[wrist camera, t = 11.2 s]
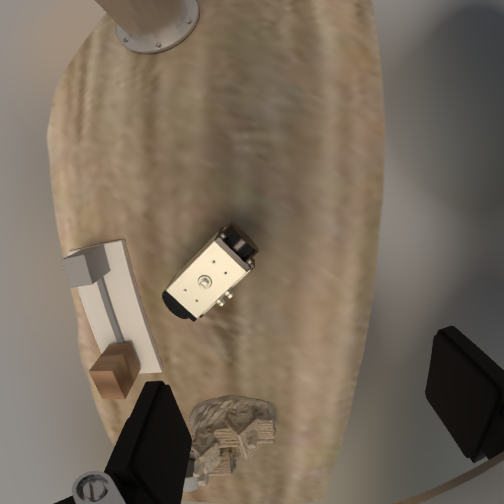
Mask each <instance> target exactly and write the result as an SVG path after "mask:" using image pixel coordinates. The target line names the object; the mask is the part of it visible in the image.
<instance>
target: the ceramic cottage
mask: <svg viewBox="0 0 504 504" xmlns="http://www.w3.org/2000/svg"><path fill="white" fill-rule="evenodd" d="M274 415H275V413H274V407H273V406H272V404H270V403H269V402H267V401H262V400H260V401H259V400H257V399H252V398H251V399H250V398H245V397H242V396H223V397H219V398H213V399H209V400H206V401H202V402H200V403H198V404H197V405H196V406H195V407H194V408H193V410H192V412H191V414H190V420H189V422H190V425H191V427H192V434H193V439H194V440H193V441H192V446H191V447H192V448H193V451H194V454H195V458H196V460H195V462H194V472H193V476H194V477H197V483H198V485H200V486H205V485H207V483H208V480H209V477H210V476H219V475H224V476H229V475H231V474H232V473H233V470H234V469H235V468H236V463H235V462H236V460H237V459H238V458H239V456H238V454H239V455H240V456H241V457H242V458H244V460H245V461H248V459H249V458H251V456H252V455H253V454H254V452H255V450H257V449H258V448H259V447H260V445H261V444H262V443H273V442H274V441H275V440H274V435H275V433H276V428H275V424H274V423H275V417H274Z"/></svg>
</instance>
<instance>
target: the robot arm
mask: <svg viewBox="0 0 504 504" xmlns="http://www.w3.org/2000/svg"><path fill="white" fill-rule="evenodd" d="M95 1H96V2H97V3H98V4H99V5H100V6H101V7H102V8H103V9H104V10H105V11H106V12H107V13H108V14H109V15H110V16H111V17H112V18H113V19H114V20H115V21H116V22H117V26H116V32H117V36H118V39H119V41H120V42H121V43H122V44H123V45H124V46H125V47H126V48H127V49H129V50H131V51H133V52H136V53H140V54H153V53H158V52H162V51H165V50H167V49H170V48H172V47H174V46H175V45H177V44H179V43H180V42H181V41H183V40H184V39H185V38H186V37H187V36H188V35H189V34H190V33H191V32H192V30H193V29H194V27H195V25H196V23H197V21H198V17H199V7H198V3H197V1H196V0H95ZM190 23H191V24H190ZM160 46H161V47H160ZM425 394H426V398H427V400H428V402H429V403H430V405H431V406H432V407H433V409H434V410H435V412H436V413H437V415H438V416H439V418H440V419H441V421H442V422H443V424H444V425H445V427H446V428H447V430H448V431H449V432H450V434H451V435H452V437H453V439H454V440H455V441H456V443H457V444H458V446H459V448H460V449H461V451H462V452H463V454H464V455H465V457H466V458H470V459H471V460H472V462H473V463H475V462H477V461H479V460H481V459H483V458H484V457H485V456H486V457H487V458H488V459H489V460H488V461H487V462H485V463H483V464H481V465H480V466H477V467H475V468H474V469H472V470H470V471H468V472H466V473H464V474H462V475H460V476H458V477H456V478H454V479H452V480H450V481H448V482H446V483H443V484H441V485H439V486H437V487H434V488H432V489H430V490H427V491H425V492H422V493H420V494H417V495H415V496H412V497H410V498H407V499H404V500H401V501H398V502H396V503H393V504H504V370H503V369H502V368H500V367H499V366H498V365H497V364H496V363H495V362H494V361H493V360H491V358H490V357H489V356H487V355H486V354H485V353H484V352H483V351H482V350H481V349H480V348H478V347H477V346H476V345H475V344H474V343H473V342H472V341H470V340H469V339H468V338H467V337H466V336H465V335H463V334H462V333H461V332H460V331H459V330H458V329H457V328H455V327H454V326H449V327H446V328H443V329H440V330H438V332H437V335H435V336H434V339H433V347H432V354H431V361H430V368H429V374H428V380H427V385H426V390H425ZM191 446H192V438H191V435H190V433H189V430H188V428H187V426H186V424H185V421H184V419H183V417H182V414H181V412H180V410H179V407H178V405H177V403H176V400H175V398H174V395H173V393H172V390H171V388H170V386H169V385H165V383H164V382H163V381H148V382H146V383H145V385H144V387H143V389H142V391H141V393H140V396H139V398H138V400H137V402H136V404H135V407H134V409H133V411H132V413H131V416H130V417H129V418H128V419H127V421H126V423H125V425H124V427H123V429H122V431H121V434H120V436H119V438H118V441H117V443H116V445H115V447H114V450H113V452H112V454H111V457H110V459H109V461H108V464H107V466H106V468H105V471H104V472H100V471H91V472H87V473H85V474H83V475H81V476H80V477H78V478H77V479H76V481H75V482H74V484H73V487H72V493H73V496H70V497H68V498H66V499H64V500H61V501H59V502H57V503H54V504H181V499H182V494H183V488H184V483H185V477H186V472H187V467H188V462H189V456H190V451H191Z"/></svg>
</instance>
